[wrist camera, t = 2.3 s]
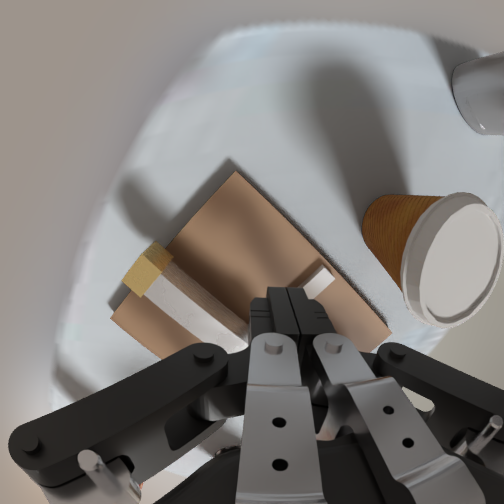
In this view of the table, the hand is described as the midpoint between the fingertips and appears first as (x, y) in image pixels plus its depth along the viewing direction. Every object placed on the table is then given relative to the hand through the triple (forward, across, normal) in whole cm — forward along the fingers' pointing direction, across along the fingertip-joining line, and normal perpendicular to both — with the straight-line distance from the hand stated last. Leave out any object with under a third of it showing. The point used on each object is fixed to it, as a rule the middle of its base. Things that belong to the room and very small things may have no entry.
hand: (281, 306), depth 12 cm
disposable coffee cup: (+14, -13, -2) cm, 19 cm away
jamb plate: (+14, 0, +10) cm, 17 cm away
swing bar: (+11, +4, +7) cm, 14 cm away
